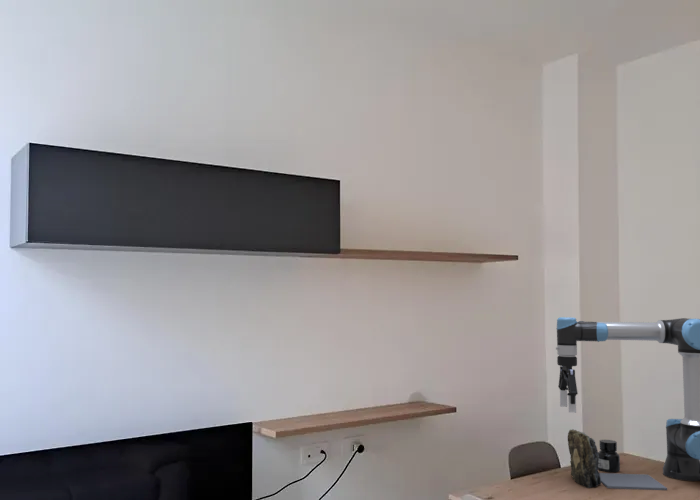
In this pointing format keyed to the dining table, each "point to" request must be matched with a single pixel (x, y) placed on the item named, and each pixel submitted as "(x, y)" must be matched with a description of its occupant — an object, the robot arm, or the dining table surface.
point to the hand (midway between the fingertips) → (567, 409)
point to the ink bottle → (608, 456)
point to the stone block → (583, 459)
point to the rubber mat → (630, 481)
